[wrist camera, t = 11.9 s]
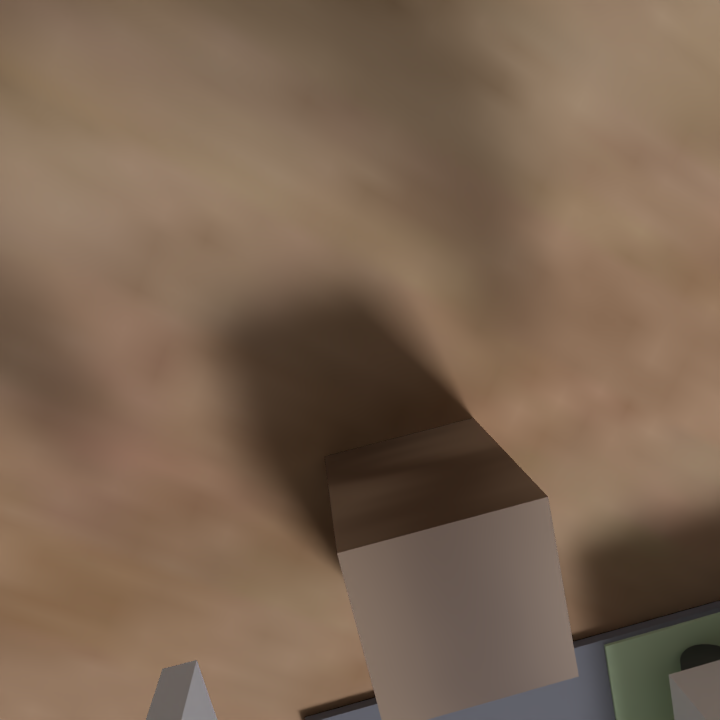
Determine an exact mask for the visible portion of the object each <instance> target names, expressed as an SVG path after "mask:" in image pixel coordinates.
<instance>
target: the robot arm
mask: <svg viewBox="0 0 720 720" xmlns="http://www.w3.org/2000/svg"><path fill="white" fill-rule="evenodd" d="M146 720H217V718H216V715H215V712H214V709H213V706H212V703H211V700H210V697H209V694H208V692H207V689H206V686H205V683H204V680H203V677H202V674H201V671H200V668H199V665H198V662H197V660H195V661H191V662H187V663H184V664H180V665H176V666H172V667H168V668H164V669H162V672H161V675H160V678H159V681H158V684H157V688H156V691H155V694H154V697H153V700H152V703H151V706H150V709H149V712H148V715H147V718H146Z"/></svg>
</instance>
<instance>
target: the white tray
mask: <svg viewBox="0 0 720 720" xmlns="http://www.w3.org/2000/svg"><path fill="white" fill-rule="evenodd" d="M680 665H681V671H679V672H676V673H673V674H669V682H670V689H671V697H672V705H673V713H674V720H720V646H717V645H711V644H699V645H694V646H691V647H689V648H687V649H686V650H685V651H684V652H683V653H682V655H681V657H680Z"/></svg>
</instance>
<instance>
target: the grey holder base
mask: <svg viewBox="0 0 720 720" xmlns="http://www.w3.org/2000/svg"><path fill="white" fill-rule="evenodd" d="M699 644H711V645H717V646H720V601H717V602H713V603H710V604H706V605H703V606H699V607H695V608H692V609H688V610H685V611H681V612H678V613H674V614H671V615H667V616H663V617H660V618H656V619H653V620H649V621H646V622H642V623H639V624H635V625H631V626H628V627H624V628H621V629H617V630H614V631H610V632H607V633H603V634H600V635H596V636H592V637H589V638H585V639H582V640H578V641H575V642H573V646H574V651H575V657H576V663H577V669H578V675H579V677H575V678H571V679H568V680H564V681H561V682H557V683H554V684H550V685H547V686H543V687H540V688H536V689H533V690H529V691H526V692H522V693H519V694H515V695H512V696H508V697H505V698H501V699H498V700H494V701H491V702H487V703H484V704H480V705H477V706H473V707H470V708H466V709H463V710H459V711H456V712H452V713H449V714H445V715H442V716H438V717H435V718H431V719H428V720H674V713H673V705H672V697H671V689H670V682H669V674H673V673H676V672H679V671H681V665H680V657H681V655H682V653H683V652H684V651H685V650H686V649H687V648H689V647H691V646H694V645H699ZM305 720H382V719H381V716H380V712H379V708H378V704H377V701H376V698H372V699H368V700H365V701H361V702H358V703H354V704H351V705H347V706H344V707H340V708H337V709H333V710H329V711H326V712H322V713H319V714H315V715H312V716H308V717H305Z"/></svg>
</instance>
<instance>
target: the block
mask: <svg viewBox="0 0 720 720" xmlns="http://www.w3.org/2000/svg"><path fill="white" fill-rule="evenodd" d="M325 465H326V473H327V480H328V488H329V496H330V503H331V511H332V519H333V526H334V534H335V542H336V549H337V555H338V559H339V563H340V566H341V570H342V574H343V578H344V581H345V585H346V589H347V592H348V596H349V600H350V604H351V607H352V611H353V615H354V619H355V622H356V626H357V630H358V634H359V637H360V641H361V645H362V648H363V652H364V656H365V660H366V663H367V667H368V671H369V675H370V678H371V682H372V686H373V689H374V693H375V697H376V701H377V704H378V708H379V712H380V716H381V719H382V720H428V719H431V718H435V717H438V716H442V715H445V714H449V713H452V712H456V711H459V710H463V709H466V708H470V707H473V706H477V705H480V704H484V703H487V702H491V701H494V700H498V699H501V698H505V697H508V696H512V695H515V694H519V693H522V692H526V691H529V690H533V689H536V688H540V687H543V686H547V685H550V684H554V683H557V682H561V681H564V680H568V679H571V678H575V677H579V675H578V669H577V663H576V657H575V651H574V646H573V640H572V634H571V628H570V622H569V616H568V611H567V605H566V599H565V593H564V587H563V581H562V576H561V570H560V564H559V558H558V552H557V546H556V541H555V535H554V529H553V523H552V517H551V511H550V506H549V500H548V496H547V495H546V494H545V493H544V492H543V491H542V490H541V489H540V488H539V487H538V486H537V485H536V484H535V483H534V482H533V481H532V479H531V478H530V477H529V476H528V475H527V474H526V473H525V472H524V471H523V470H522V469H521V468H520V467H519V466H518V465H517V464H516V463H515V462H514V460H513V459H512V458H511V457H510V456H509V455H508V454H507V453H506V452H505V451H504V450H503V449H502V448H501V447H500V446H499V445H498V444H497V443H496V442H495V440H494V439H493V438H492V437H491V436H490V435H489V434H488V433H487V432H486V431H485V430H484V429H483V428H482V427H481V426H480V425H479V424H478V423H477V421H476V420H475V419H474V418H471V419H468V420H464V421H460V422H456V423H452V424H448V425H444V426H441V427H437V428H433V429H429V430H425V431H421V432H417V433H414V434H410V435H406V436H402V437H398V438H394V439H390V440H387V441H383V442H379V443H375V444H371V445H367V446H363V447H360V448H356V449H352V450H348V451H344V452H340V453H336V454H332V455H329V456H325Z"/></svg>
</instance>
